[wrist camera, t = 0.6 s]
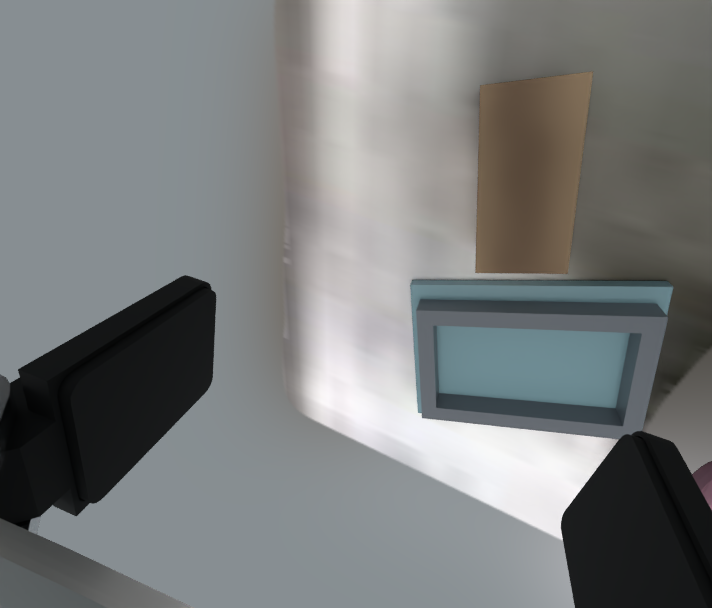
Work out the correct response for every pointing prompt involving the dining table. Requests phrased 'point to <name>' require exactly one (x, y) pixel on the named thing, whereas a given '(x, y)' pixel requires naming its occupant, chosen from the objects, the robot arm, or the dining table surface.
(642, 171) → the dining table surface
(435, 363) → the cradle
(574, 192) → the walnut block
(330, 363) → the dining table surface
